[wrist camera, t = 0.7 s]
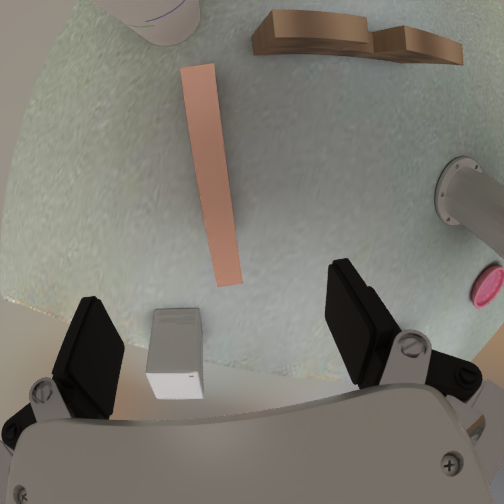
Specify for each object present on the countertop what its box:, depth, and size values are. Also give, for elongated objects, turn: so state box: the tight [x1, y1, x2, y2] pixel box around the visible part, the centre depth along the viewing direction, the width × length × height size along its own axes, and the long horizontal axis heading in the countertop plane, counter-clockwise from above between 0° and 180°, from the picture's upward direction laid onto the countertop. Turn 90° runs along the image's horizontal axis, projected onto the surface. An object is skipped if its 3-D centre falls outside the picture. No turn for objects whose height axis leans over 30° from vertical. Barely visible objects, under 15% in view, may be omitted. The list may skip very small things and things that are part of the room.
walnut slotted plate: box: [252, 10, 463, 65], centre depth 22 cm, size 20×2×12 cm, turn 96°
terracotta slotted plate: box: [180, 63, 243, 287], centre depth 28 cm, size 20×2×12 cm, turn 6°
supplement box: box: [145, 308, 204, 399], centre depth 41 cm, size 7×7×13 cm
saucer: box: [472, 265, 504, 309], centre depth 53 cm, size 12×12×3 cm
